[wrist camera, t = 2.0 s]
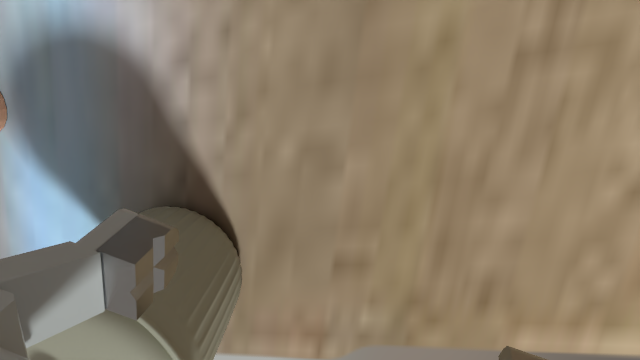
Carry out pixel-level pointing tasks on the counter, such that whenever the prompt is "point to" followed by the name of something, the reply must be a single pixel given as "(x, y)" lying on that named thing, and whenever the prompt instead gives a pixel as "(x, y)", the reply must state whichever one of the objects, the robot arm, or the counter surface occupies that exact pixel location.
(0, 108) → the pepper shaker
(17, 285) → the robot arm
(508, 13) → the counter surface
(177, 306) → the canister
